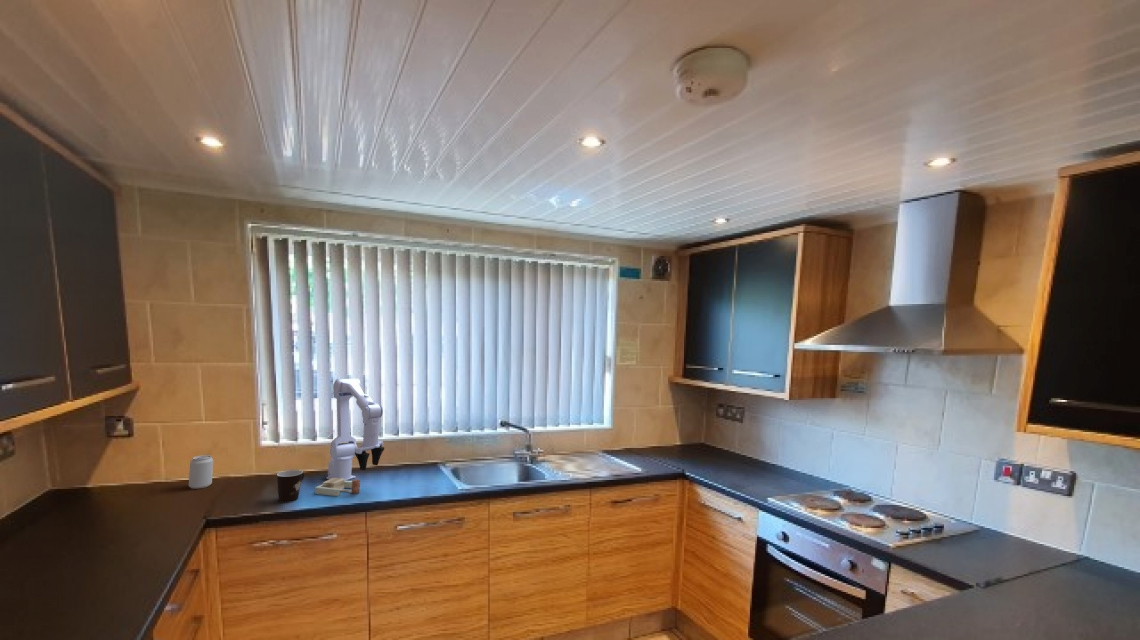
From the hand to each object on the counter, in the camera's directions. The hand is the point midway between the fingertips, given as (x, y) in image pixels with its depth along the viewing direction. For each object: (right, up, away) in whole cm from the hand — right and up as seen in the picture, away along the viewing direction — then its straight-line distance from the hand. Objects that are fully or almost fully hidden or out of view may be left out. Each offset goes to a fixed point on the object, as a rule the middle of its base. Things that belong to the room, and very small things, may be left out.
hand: (369, 467), depth 191 cm
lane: (-13, -9, -1) cm, 16 cm away
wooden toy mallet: (-10, -9, -1) cm, 14 cm away
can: (-68, -7, -2) cm, 68 cm away
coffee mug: (-25, -9, -11) cm, 29 cm away
